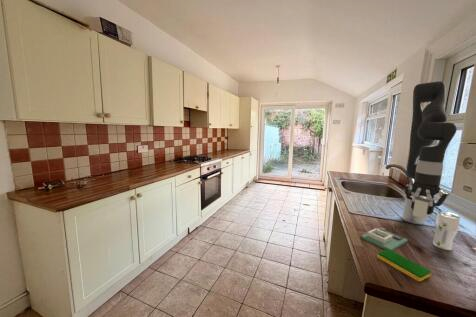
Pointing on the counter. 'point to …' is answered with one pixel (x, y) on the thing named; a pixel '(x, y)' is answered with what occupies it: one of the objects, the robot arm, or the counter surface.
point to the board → (384, 239)
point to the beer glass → (445, 230)
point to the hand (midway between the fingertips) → (421, 211)
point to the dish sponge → (404, 265)
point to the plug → (421, 207)
